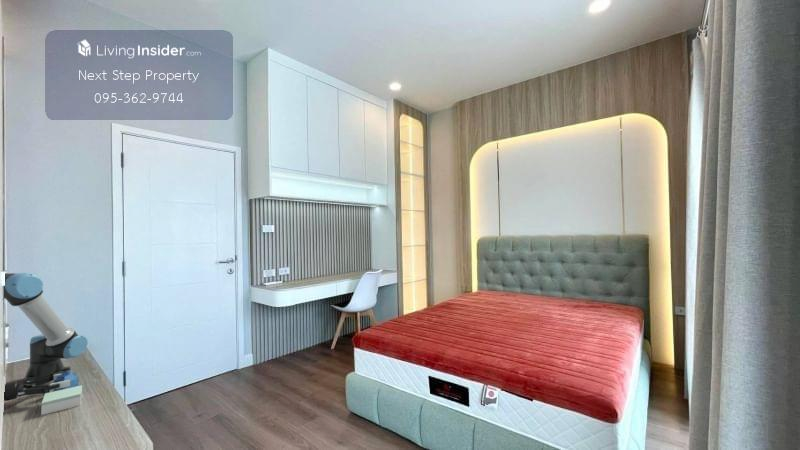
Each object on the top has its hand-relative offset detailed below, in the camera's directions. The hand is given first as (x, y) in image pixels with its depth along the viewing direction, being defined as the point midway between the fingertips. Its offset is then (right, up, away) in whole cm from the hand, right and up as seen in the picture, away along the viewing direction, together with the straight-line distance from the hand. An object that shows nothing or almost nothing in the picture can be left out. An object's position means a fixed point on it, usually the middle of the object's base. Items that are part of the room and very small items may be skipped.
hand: (71, 378), depth 163 cm
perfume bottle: (-1, -7, -1) cm, 7 cm away
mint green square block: (+9, -6, -13) cm, 17 cm away
